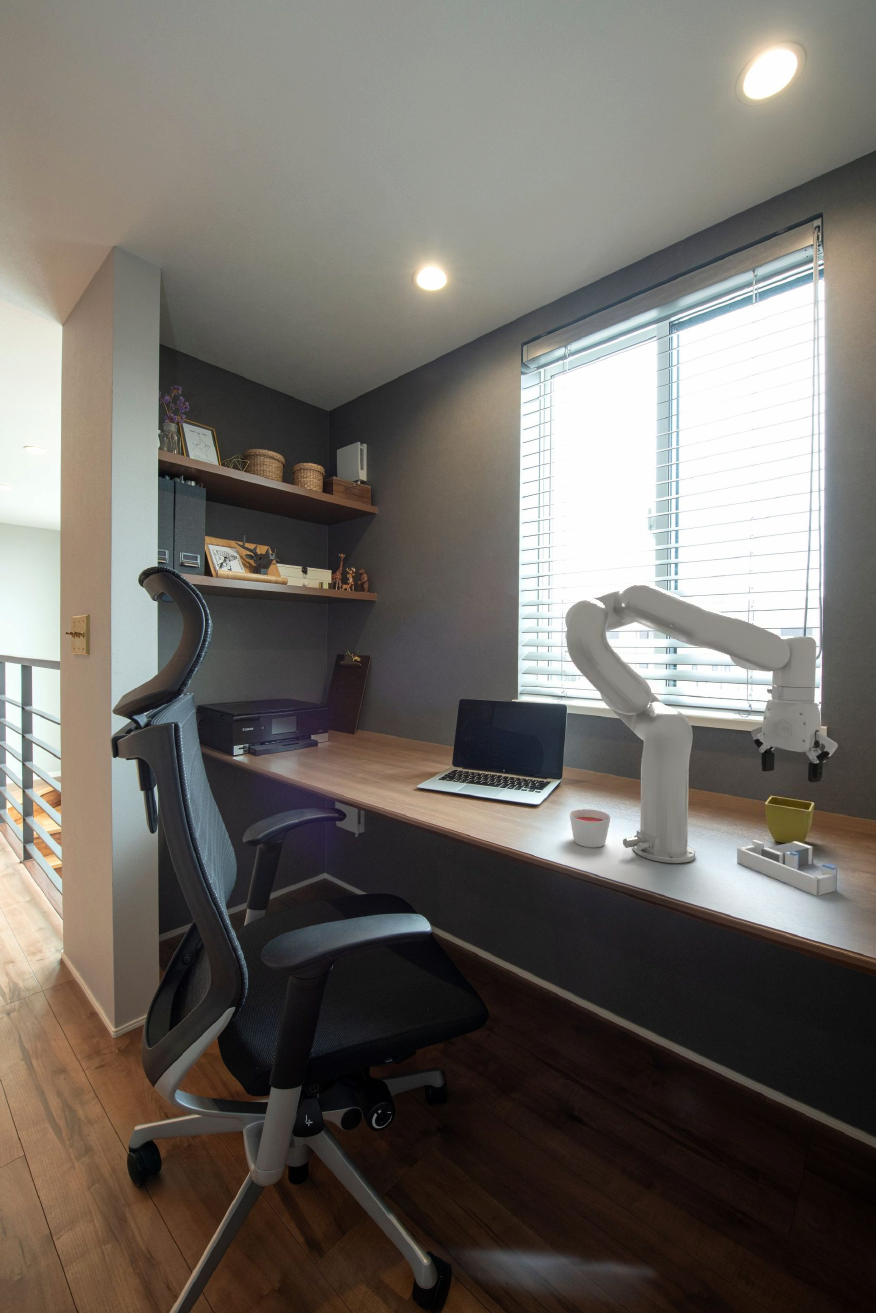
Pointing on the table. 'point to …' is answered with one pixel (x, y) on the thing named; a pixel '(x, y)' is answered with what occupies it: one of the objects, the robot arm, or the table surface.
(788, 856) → the white arch handle
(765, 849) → the white-capped gray brick
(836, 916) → the table surface
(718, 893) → the table surface
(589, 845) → the candle
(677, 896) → the table surface
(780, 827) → the flower pot
